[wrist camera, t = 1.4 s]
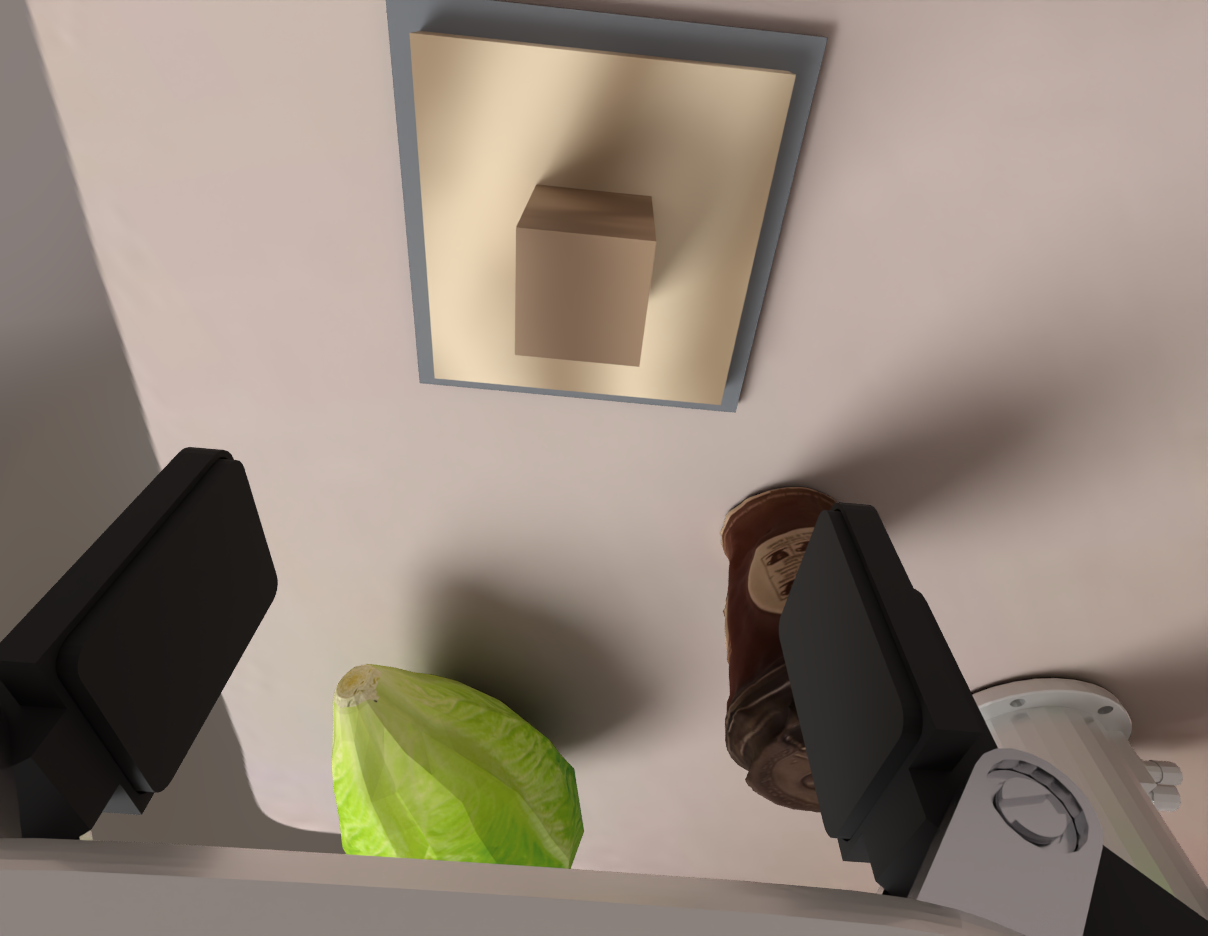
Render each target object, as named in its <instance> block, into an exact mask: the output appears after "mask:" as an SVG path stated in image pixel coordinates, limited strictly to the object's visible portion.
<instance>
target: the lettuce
mask: <svg viewBox="0 0 1208 936" xmlns="http://www.w3.org/2000/svg"><path fill="white" fill-rule="evenodd" d="M332 774H333V787H334V793H335V798H336V803H337V809H338V814H339V821H340V830H341V838H342V846H343V849H344V851H345V852H346V854H347V855H363V856H379V857H394V858H410V859H426V860H441V861H457V862H472V863H488V864H503V865H519V866H534V867H549V868H565V869H571V866H572V863H573V860H574V858H575V855H576V852H577V849H578V847H579V844H580V841H581V838H582V836H583V833H584V828H583V822H582V815H581V809H580V803H579V797H578V790H577V784H576V778H575V771H574V768H573V767H572V766H571V765H570V764H569V763H568V762H567V761H566V760H565V759H564V758H563V757H562V756H561V755H560V753H559V752H558V751H557V749H556V748H555V747H554V745H553V744H552V743H551V742H550V740H549V739H548V738H547V737H545V736H544V735H543V734H542V733H540V732H539V731H538V730H537V729H535V728H534V727H533V726H531V725H530V724H529V723H528V722H526V721H525V720H524V719H523V718H521V717H520V716H519V715H518V714H516V713H515V712H514V711H513V710H511V709H510V708H509V707H507V706H506V705H505V704H504V703H502V702H501V701H500V700H497V699H495V698H493V697H491V696H489V695H487V694H484V693H482V692H480V691H478V690H476V689H473V688H471V687H469V686H467V685H465V684H463V683H460V682H458V681H456V680H452V679H448V678H444V677H440V676H436V675H432V674H423V673H415V672H410V671H406V670H402V669H398V668H394V667H387V666H380V665H372V664H366V665H361V666H357V667H354V668H353V669H351V670H350V671H349V672H348V673H347V674H346V675H345V676H344V677H343V678H342V679H341V680H340V682H339V683H338V685H337V688H336V691H335V694H334V699H333V749H332Z"/></svg>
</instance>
